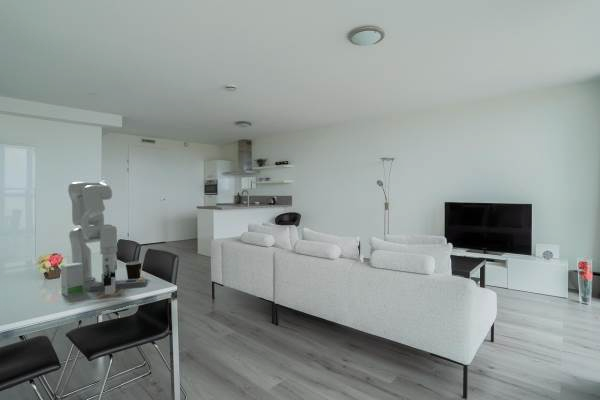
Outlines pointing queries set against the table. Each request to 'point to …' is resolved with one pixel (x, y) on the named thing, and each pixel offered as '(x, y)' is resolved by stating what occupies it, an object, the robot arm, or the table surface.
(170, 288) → the table surface
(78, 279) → the skincare box
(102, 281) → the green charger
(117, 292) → the walnut board
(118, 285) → the power strip
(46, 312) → the table surface
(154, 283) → the table surface
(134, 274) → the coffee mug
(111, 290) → the white charger
